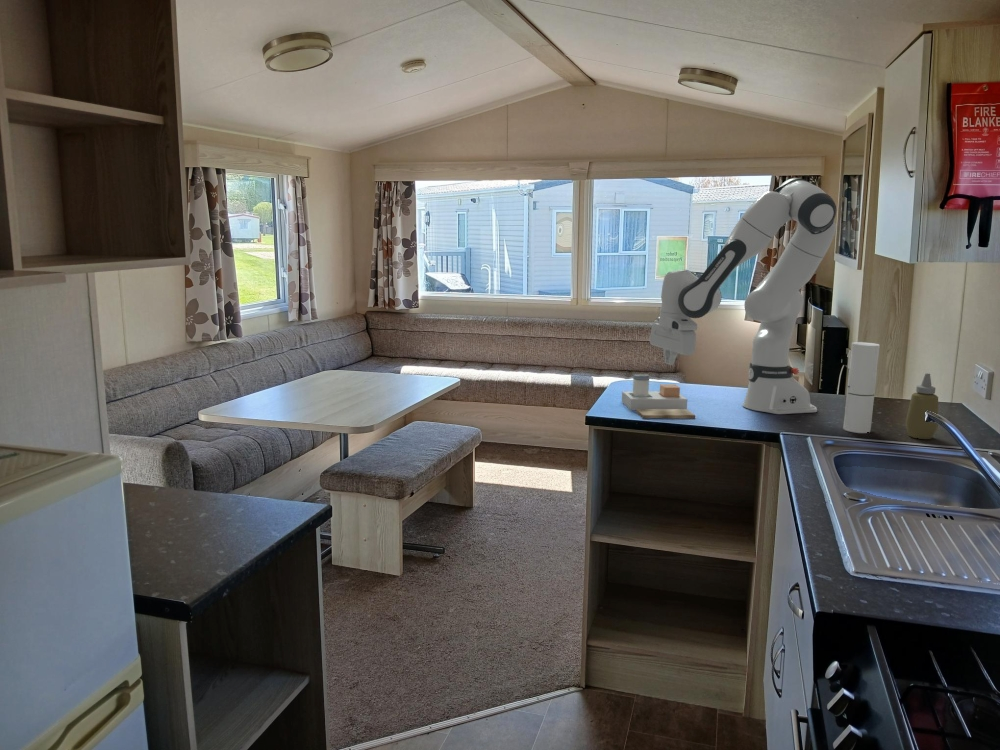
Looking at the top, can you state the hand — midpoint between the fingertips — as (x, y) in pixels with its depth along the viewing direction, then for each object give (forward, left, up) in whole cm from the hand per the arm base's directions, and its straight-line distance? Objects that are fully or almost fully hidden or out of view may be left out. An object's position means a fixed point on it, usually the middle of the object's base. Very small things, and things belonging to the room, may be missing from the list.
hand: (669, 364), depth 247 cm
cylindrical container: (-47, +31, -14) cm, 58 cm away
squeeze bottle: (-61, +39, -14) cm, 73 cm away
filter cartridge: (+9, 0, -14) cm, 16 cm away
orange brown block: (-1, 0, -11) cm, 11 cm away
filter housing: (+4, 0, -14) cm, 14 cm away
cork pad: (+4, +13, -14) cm, 20 cm away
